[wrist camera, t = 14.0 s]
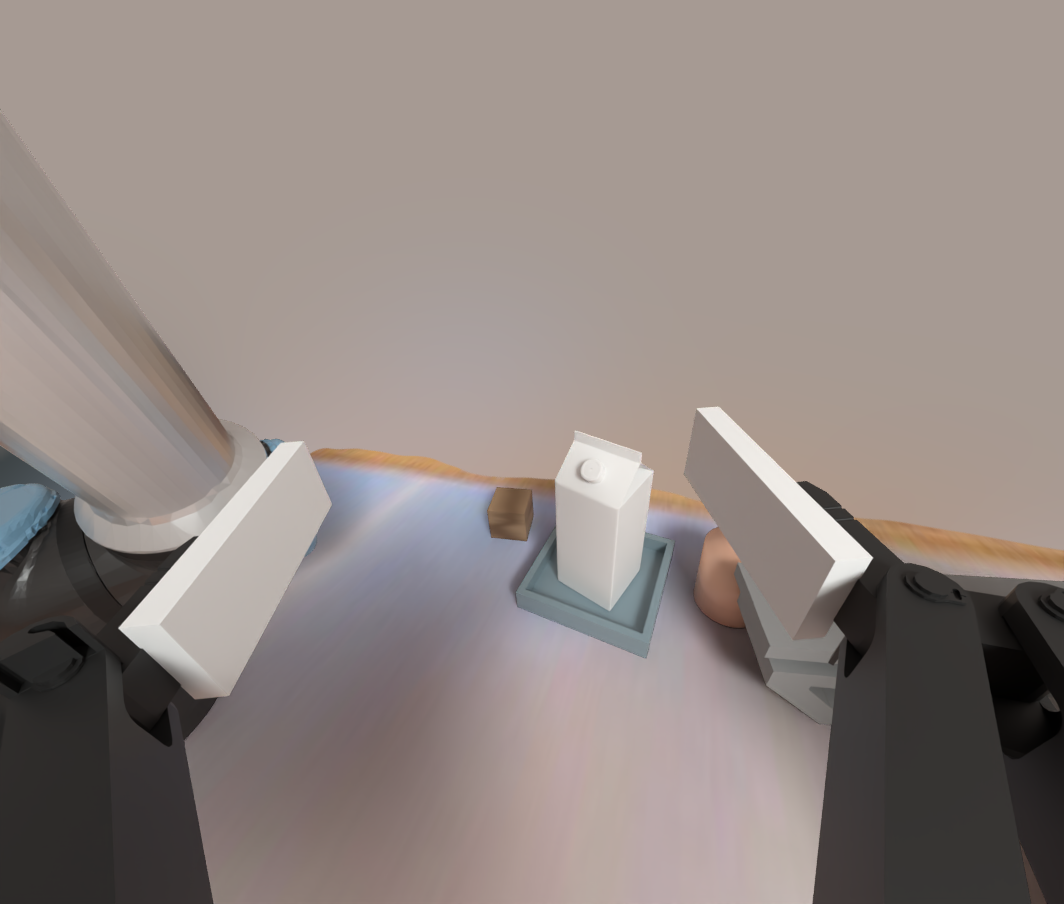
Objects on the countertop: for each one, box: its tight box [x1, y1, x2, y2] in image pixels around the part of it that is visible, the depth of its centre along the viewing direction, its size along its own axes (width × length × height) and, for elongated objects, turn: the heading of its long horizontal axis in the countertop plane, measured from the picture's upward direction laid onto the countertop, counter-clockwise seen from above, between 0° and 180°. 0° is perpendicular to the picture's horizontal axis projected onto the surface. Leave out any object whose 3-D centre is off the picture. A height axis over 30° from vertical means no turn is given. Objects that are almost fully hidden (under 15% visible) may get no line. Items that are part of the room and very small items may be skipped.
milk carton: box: [555, 431, 654, 611], centre depth 42 cm, size 7×7×19 cm
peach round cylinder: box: [693, 527, 746, 628], centre depth 42 cm, size 7×7×8 cm
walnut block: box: [487, 487, 533, 541], centre depth 55 cm, size 5×5×5 cm
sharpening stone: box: [734, 563, 1064, 725], centre depth 34 cm, size 25×8×11 cm, turn 83°
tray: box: [516, 527, 675, 658], centre depth 47 cm, size 15×15×3 cm
